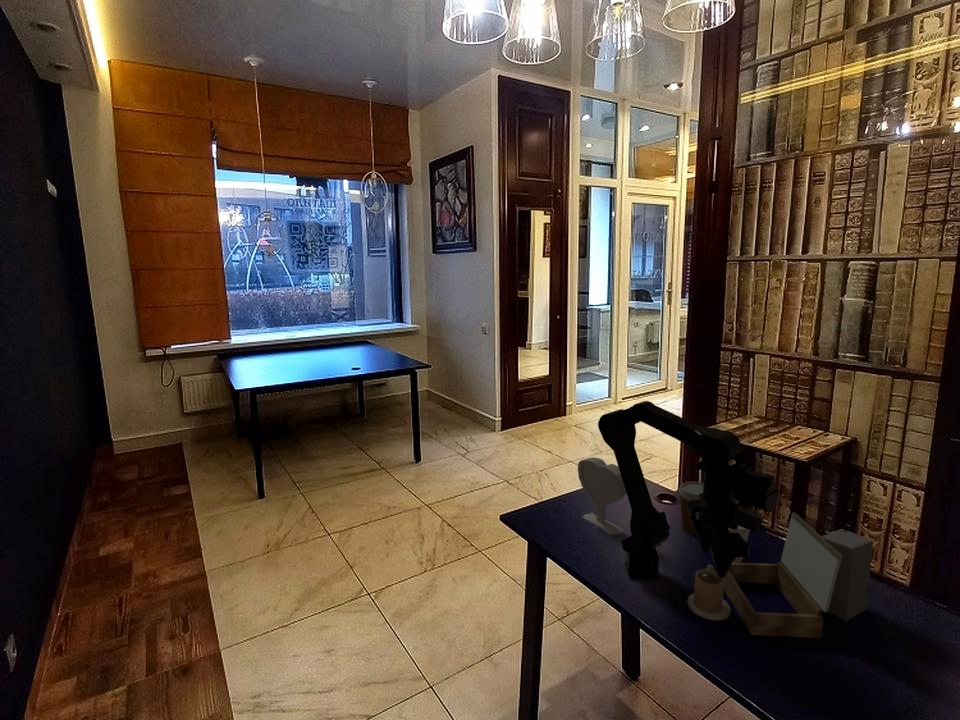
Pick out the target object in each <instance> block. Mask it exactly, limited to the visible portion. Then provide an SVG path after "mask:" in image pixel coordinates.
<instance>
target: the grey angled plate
mask: <svg viewBox="0 0 960 720" xmlns="http://www.w3.org/2000/svg"><path fill="white" fill-rule="evenodd" d="M786 533H787V534H786V538H785V542H784V546H783V550H782V555H781V559H780V562H781V563H782V564H783V565H784V566H785V568H786V569H787V570H788V571H789V572H790V573H791V575H792V576H793V577H794V578H795V579H796V580H797V582H798V583H799V584H800V585H801V586H802V587H803V589H804V590H806V591H807V592H808V593H809V595H810V596H811V597H812V598H813V600H814V601H815V602H816V603H817V604H818V605H819V606H820V607H821V610H822V612H824V613H829V612H828V608H829V605H830V601H831V597H832V593H833V589H834V585H835V582H836V578H837V574H838V570H839V566H840V562H841V561H842V557H843V556H842V555H841V554H840V553H838V552H837V551H836V550H835V549H834V548H833V547H832V546H831V545H830V544H829V543H828V542H827V541H825V540H824V539H823V538H822V537H821V536H822V535H820V534H819V533H818V532H817V531H816V530H815V529H813V527H811V526H810V524H809V523H807V522H806V521H805V520H804V519H803V518H802V517H801V516H800V515H798V514H797V512H791V516H790V520H789V525H788V529H787V532H786Z"/></svg>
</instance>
